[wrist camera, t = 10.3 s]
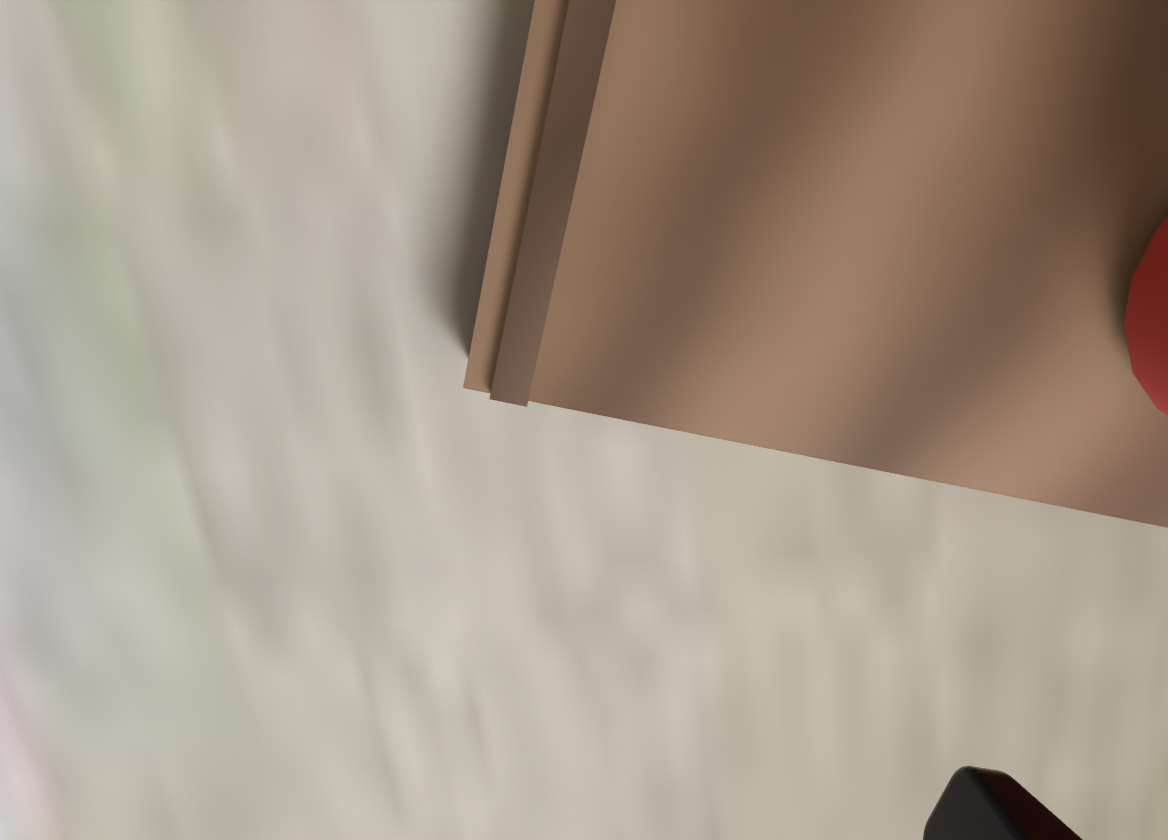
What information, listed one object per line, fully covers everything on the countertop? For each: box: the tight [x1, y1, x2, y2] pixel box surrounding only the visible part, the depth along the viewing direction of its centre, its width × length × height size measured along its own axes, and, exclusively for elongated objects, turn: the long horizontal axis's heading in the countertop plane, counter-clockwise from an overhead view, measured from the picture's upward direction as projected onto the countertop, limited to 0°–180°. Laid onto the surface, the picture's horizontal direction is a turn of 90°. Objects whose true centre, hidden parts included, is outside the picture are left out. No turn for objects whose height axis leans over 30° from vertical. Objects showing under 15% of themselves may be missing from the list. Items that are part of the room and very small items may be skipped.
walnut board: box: [463, 0, 1168, 527], centre depth 18 cm, size 20×12×2 cm, turn 77°
